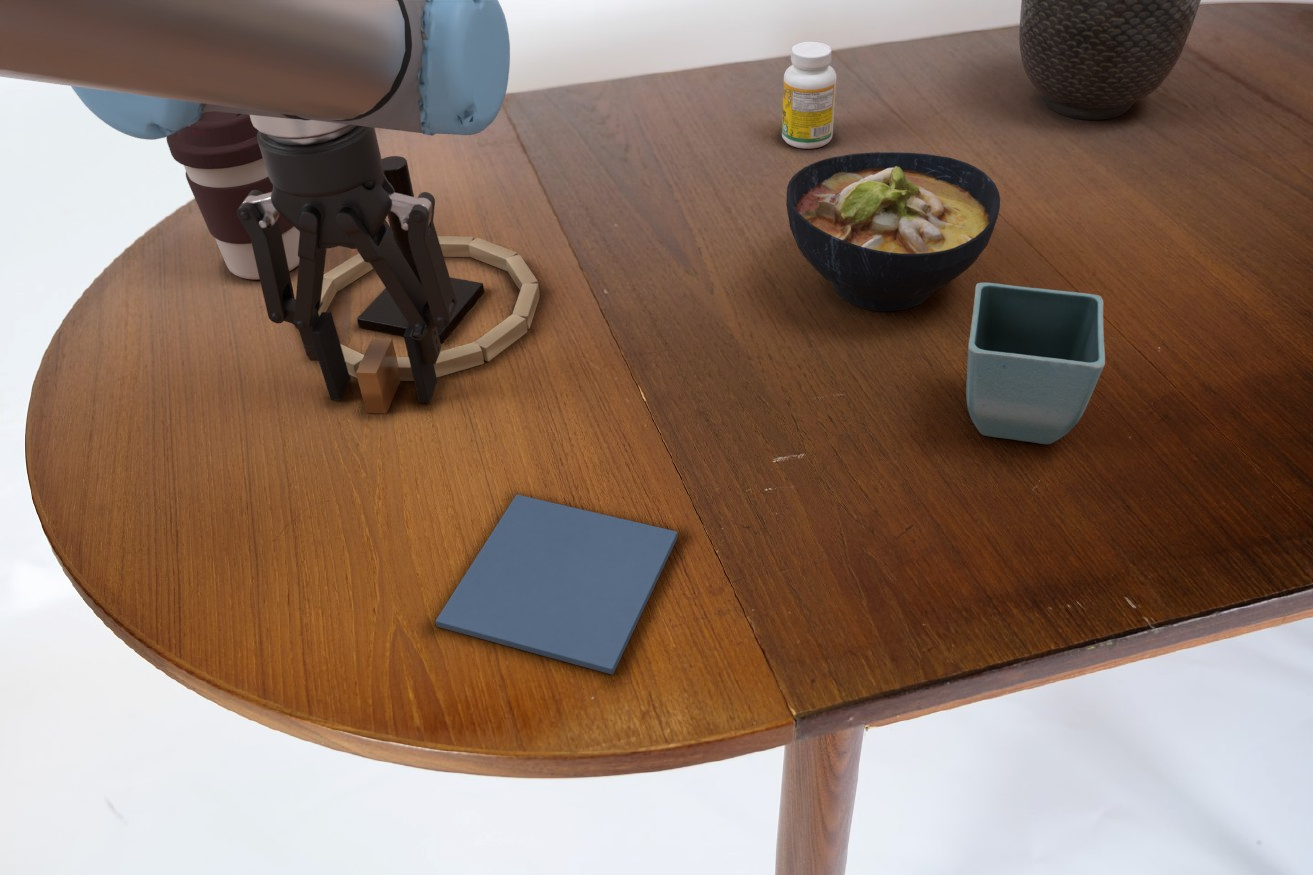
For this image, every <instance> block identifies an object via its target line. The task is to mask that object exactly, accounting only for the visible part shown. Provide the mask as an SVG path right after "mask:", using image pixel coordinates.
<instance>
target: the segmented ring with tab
mask: <svg viewBox="0 0 1313 875" xmlns="http://www.w3.org/2000/svg"><path fill="white" fill-rule="evenodd" d="M437 236H438V240H439V243H440V246H441V250H442V253H443V256H444V258H472V259H474V260H477V261H478V262H479V261H480V262H482V263H485V264H487V265H489V266H492V267H495V268H497V269H500V270H503V271H504V272H507V273H508V274H509V276H510V278H511V279H512V281H513V282H514V284H515V285H516V287H517V288H518V290H519V293H518V297H517V300H516V302H515V305H514V307H513V310H512V314H511V315H509V316H508V317H506V318H505V319H504V320H502V321H501V322H500V323H499V324H497V325H496V326H494V327H493V328H492V329H490V330H489V331H488V332H486V333H485V334H484V335H482V336H480V337H479V338H478V339H476V340H475V341H473V342H470V343H466V344H462V345H459V346H456V347H455V346H454V347H452V348H448V349H445V350H441V351H440V354H439V356H438V359H437V361H436V364H434V368H435V373H436V377H437V378H440V377H444V376H447V375H450V374H454V373H458V372H461V371H465V370H468V369H471V368H475V367H478V366H481V365H484V364H485V361H486V362H490V361H491V360H493V359H494V358H496V357H497V356H498V355H499V354H501V353H502V352H503V351H505V350H506V349H507V348H508V347H510V346H511V345H513V344H514V343H515V342H516V341H517V340H519V339H520V338H521V337H523V336H524V335H525V334H527V333H528V330H530V329H531V325H532V323H533V319H534V317H535V313H536V310H537V307H538V304H539V300H540V297H541V295H540V287H539V286H540V285H539V280H538V279H537V278H536V276H535V275H534V273H533V272H532V270H531V269H530V267H529V266H528V265H527V263H526V261H525V260H524V258H523V257H522V256H521V254H518V252H517V251H514V250H511V249H509V248H506V247H505V246H501V245H498V244H495V243H493V242H490V241H488V240H485V239H483V238H480V237H476V238H475V237H474V236H459V235H458V236H456V235H437ZM373 270H374V268H373V267H372V265H371V264H370V263H369V262H365V261H364V260H363V258H362V257H361V255H360V254H359V252H358V253H356V254H355V255H353V256H351V257H350V258H348V259H347V260H345V261H344V262H342V263H340V264H338V265H337V266H336V267H333V268H332V269H331V270H329V271H326V273H325V272H324V276H323V285H322V294H321V302H323V304H322V306H321V308H320V310H319V311H318V314H319V316H320V315H321V313H322V312H328V311H327V310H328V309H329V307H330V305H331V303H332V302H333V300H334V298H335V296H336V295H337V293H338V292H339V291H341V290H343V289H344V288H346V287H347V286H349V285H350V284H352V283H354V282H355V281H357V280H359V279H360V278H362V277H364V276H365V275H366V274H368V273H369V272H371V271H373ZM320 304H321V303H320ZM340 345H341V348H342V352H343V355H344V359H345V362H346V366H347V369H348V373H349V376H351V377H354V378H356V379H357V382H358V386H359V390H360V393H361V397H362V400H363V404H364V407H365V411H366V414H383V415H384V414H385V415H386V414H388V411H389V409H390V407H391V404H392V402H393V401H394V397H395V396H396V393H397V391H398V388H399V386H400V383H401V382H402V381H403V382H404V381H405V382H414V378H413V374H412V369H411V365H410V361H409V357H408V356H397V352H396V349H395V345H394V340H393V338H384V337H383V338H379V337H372V338H371V341H370V342H369V345H368V347H367V349H366V350H365V353H364V354H363V353H361V352H358V351H357V350H354V349H352V348H350V347H348V346H346V345H344V344H342V343H340Z"/></svg>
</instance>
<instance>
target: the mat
mask: <svg viewBox="0 0 1313 875" xmlns="http://www.w3.org/2000/svg"><path fill="white" fill-rule="evenodd" d="M678 534H679V532H678V531H676V530H672V529H668V528H663V527H659V526H655V525H650V524H646V523H642V522H637V521H633V520H629V519H626V518H625V519H624V518H621V517H615V516H612V515H607V514H603V513H599V512H595V511H590V510H587V509H582V508H577V507H572V506H568V505H565V504H559V503H555V502H551V501H547V500H543V499H538V498H534V497H530V496H526V495H521V494H516V495H515V496H514V497H513V499H512V500H511V503H510V504H509V505H508V507H507V508H506V510H505V512H504V513H503V515H502V517H501V518H500V520H499V521H498V522H497V523H496V526H495V527H494V528H493V530H492V532H491V533H490V535H489V537H488V538H487V540H486V541H485V543H484V545H483V546H482V548H481V549H480V551H479V552H478V554H477V555H476V557H475V559H474V560H473V561H472V563H471V565H470V566H469V568H468V569H467V571H466V572H465V574H464V576H463V577H462V579H461V580H460V581H459V584H458V585H457V587H456V588H455V590H454V591H453V593H452V595H451V596H450V597H449V599H448V601H447V602H446V604H445V605H444V607H443V608H442V610H441V611H440V613H439V615H438V616H437V618H436V619H435V624H436V627H437V628H441V629H445V630H448V631H451V632H455V633H458V634H462V635H465V636H470V637H474V638H477V639H480V640H485V641H488V642H492V643H495V644H498V645H503V646H507V647H510V648H513V649H517V650H520V651H524V652H528V653H532V654H535V655H539V656H543V657H546V658H550V659H554V660H558V661H561V662H564V663H567V664H568V663H569V664H572V665H574V666H575V665H576V666H579V667H583V668H587V669H590V670H594V671H597V672H601V673H605V674H608V675H611V676H612V675H614V673H615V672H616V669H617V668H618V665H619V663H620V661H621V659H622V657H623V654H624V652H625V650H626V648H627V646H628V644H629V642H630V640H631V638H632V635H633V633H634V631H635V629H636V627H637V624H638V622H639V621H640V619H641V616H642V614H643V612H644V610H645V608H646V605H647V603H648V601H649V599H650V597H651V595H652V593H653V591H654V589H655V587H656V584H657V582H658V580H659V578H660V576H661V573H662V572H663V570H664V568H665V565H666V563H667V562H668V560H669V557H670V555H671V552H672V551H673V548H674V546H675V545H676V542H677V541H678V537H679V535H678Z"/></svg>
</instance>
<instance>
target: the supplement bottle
mask: <svg viewBox="0 0 1313 875" xmlns="http://www.w3.org/2000/svg"><path fill="white" fill-rule="evenodd" d="M832 51H833V50H832V48H831V46H829V45H828V44H826V43H823V42H819V41H803V42H799V43H796V44H794V45H793V46H792V47H791V52H790V62H791V65H790V66H789V67H787V68H786V70H785V72H784V74H783V85H782V86H783V87H782V88H783V90H782V115H781V137H782V139H783V140H784V141H785V143H787V144H788V145H789V146H792V147H794V148H798V149H804V150H805V149H807V150H810V149H817V148H821V147H824V146H826V145H828V144H829V143H830V142H831V140H832V139H833V134H834V121H835V120H834V119H835V108H836V106H835V105H836V92H837V73H836V71H835V69H834V68H833V67H832V66H831V65H830V64H831V63H832Z"/></svg>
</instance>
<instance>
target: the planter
mask: <svg viewBox="0 0 1313 875" xmlns="http://www.w3.org/2000/svg"><path fill="white" fill-rule="evenodd" d="M1201 2H1202V0H1021V3H1020V12H1019V13H1020V14H1019V32H1018V37H1019V40H1018V42H1019V44H1018V45H1019V52H1020V58H1021V63H1022V67H1023V70H1024V73H1025V74H1026V76H1027V78H1028V79H1029V81H1030V82H1031V84H1032V85H1033V87H1035V88H1036V90H1037V91H1038V92H1040V93H1041V97H1042V100H1043V102H1044V103H1045V105H1046V106H1047V107H1048V108H1049V109H1051V110H1052V112H1055V113H1056V114H1059V115H1062V116H1065V117H1069V118H1073V119H1078V120H1087V121H1101V120H1110V119H1114V118H1118V117H1120V116H1122V115H1124V114H1125V113H1127V112H1128V111H1129V110H1130V109H1131V108H1132V106H1133V105H1134V104H1135V103H1138V102H1140V101H1142V100H1143V99H1145V98H1146V97H1148V96H1149V95H1150V94H1152V93H1153V92H1154V91H1156V90H1157V89H1158V88H1159V87H1160V86H1161V85H1162V84H1163V83H1164V81H1166V79H1167V78H1168V77H1169V75H1170V74H1171V72H1172V71H1173V70H1174V68H1175V67H1176V64H1177V63H1178V60H1179V58H1180V57H1181V54H1182V53H1183V50H1184V47H1185V45H1186V42H1187V40H1188V38H1189V36H1190V32H1191V30H1192V27H1193V24H1194V22H1195V19H1196V16H1197V13H1198V10H1199V7H1200V4H1201Z"/></svg>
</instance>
